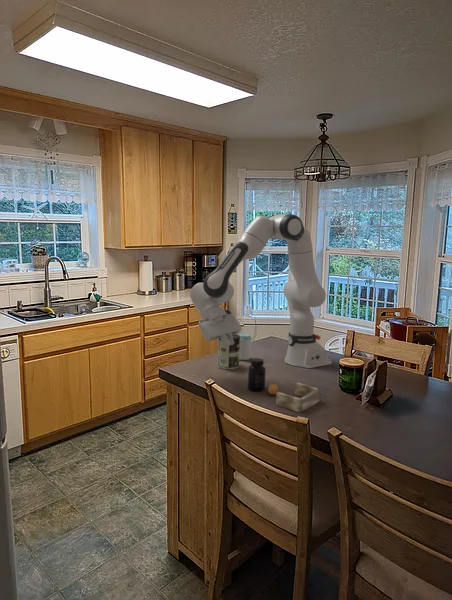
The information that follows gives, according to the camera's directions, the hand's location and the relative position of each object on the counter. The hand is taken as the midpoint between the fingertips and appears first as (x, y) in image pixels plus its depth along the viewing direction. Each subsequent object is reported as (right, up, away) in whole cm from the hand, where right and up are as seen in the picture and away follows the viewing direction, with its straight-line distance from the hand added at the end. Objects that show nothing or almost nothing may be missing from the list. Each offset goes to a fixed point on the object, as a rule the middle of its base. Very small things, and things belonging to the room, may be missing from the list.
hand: (231, 344), depth 175 cm
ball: (+16, -16, -11) cm, 25 cm away
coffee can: (-1, -12, +21) cm, 24 cm away
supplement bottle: (+10, -17, -6) cm, 20 cm away
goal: (+24, -19, -17) cm, 35 cm away
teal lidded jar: (+6, -10, +32) cm, 35 cm away
